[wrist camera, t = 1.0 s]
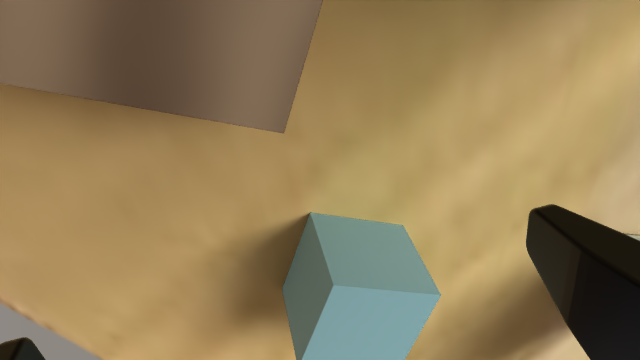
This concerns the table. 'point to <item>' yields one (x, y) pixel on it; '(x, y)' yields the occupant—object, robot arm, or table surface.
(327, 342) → the teal cube
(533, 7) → the table surface
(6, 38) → the walnut block
